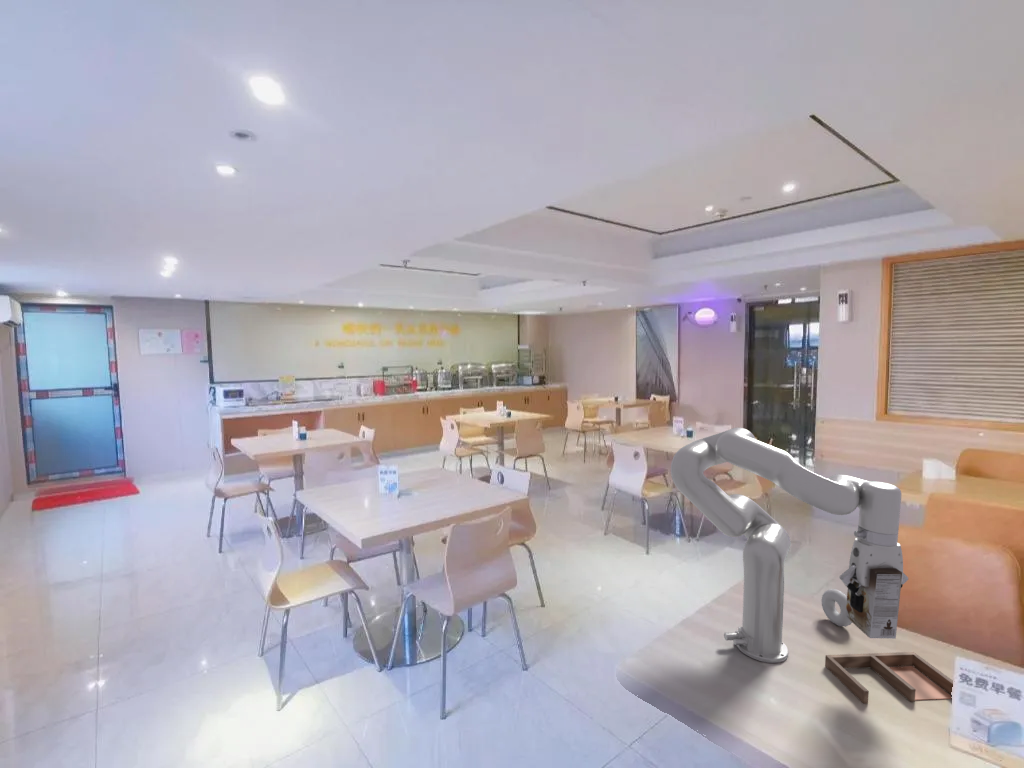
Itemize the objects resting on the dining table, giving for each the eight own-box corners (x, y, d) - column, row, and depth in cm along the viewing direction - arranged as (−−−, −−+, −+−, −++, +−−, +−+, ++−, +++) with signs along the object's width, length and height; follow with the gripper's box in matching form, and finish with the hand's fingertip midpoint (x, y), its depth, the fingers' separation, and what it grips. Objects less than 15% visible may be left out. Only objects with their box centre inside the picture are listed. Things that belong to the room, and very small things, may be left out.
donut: (857, 633, 139) (858, 598, 139) (846, 634, 139) (848, 600, 138) (827, 614, 149) (829, 582, 148) (817, 615, 148) (819, 583, 148)
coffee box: (843, 616, 122) (848, 553, 121) (869, 616, 122) (875, 554, 121) (869, 639, 113) (875, 571, 112) (898, 639, 113) (904, 572, 111)
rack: (863, 703, 112) (864, 691, 112) (825, 666, 125) (825, 655, 125) (961, 699, 113) (962, 687, 113) (912, 663, 126) (913, 651, 126)
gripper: (852, 543, 111) (847, 618, 113) (927, 542, 112) (920, 617, 114) (830, 530, 119) (824, 601, 121) (899, 529, 120) (893, 599, 121)
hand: (871, 608), depth 117 cm, fingers closed on coffee box, 6 cm apart
